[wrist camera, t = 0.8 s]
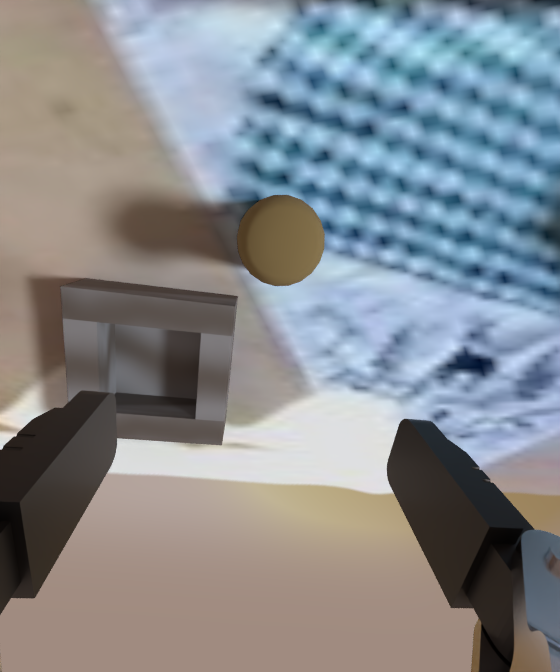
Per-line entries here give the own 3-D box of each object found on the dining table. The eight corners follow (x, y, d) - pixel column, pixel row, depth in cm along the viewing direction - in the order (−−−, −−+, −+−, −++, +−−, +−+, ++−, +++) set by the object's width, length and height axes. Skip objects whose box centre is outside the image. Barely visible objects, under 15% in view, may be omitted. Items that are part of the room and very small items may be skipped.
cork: (319, 252, 29) (354, 266, 19) (259, 284, 30) (261, 316, 19) (287, 185, 27) (308, 160, 17) (224, 221, 28) (205, 219, 17)
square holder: (86, 278, 28) (60, 286, 25) (237, 296, 30) (235, 306, 26) (91, 410, 32) (70, 434, 29) (225, 420, 34) (221, 445, 30)
